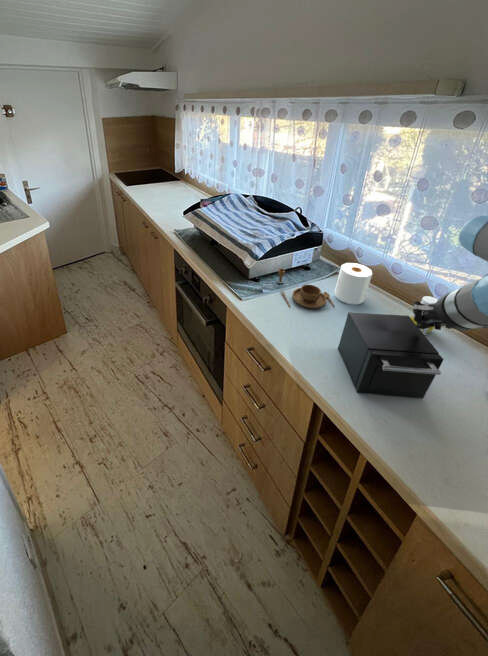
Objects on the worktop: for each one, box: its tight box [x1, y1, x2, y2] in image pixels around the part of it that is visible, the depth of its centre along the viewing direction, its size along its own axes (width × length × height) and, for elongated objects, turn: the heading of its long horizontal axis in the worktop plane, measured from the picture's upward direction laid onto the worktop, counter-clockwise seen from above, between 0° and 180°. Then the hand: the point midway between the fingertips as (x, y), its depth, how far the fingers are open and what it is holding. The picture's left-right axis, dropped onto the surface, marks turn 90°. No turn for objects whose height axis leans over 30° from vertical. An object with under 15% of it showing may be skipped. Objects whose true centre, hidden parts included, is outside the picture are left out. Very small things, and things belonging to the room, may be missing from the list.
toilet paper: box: [334, 262, 373, 305], centre depth 113 cm, size 10×10×12 cm
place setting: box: [277, 268, 336, 310], centre depth 117 cm, size 18×20×6 cm
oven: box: [337, 311, 440, 388], centre depth 83 cm, size 14×16×14 cm
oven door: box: [354, 350, 444, 400], centre depth 74 cm, size 5×16×14 cm, turn 83°
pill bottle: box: [410, 295, 439, 336], centre depth 97 cm, size 6×6×12 cm
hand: (420, 323), depth 79 cm, fingers closed
